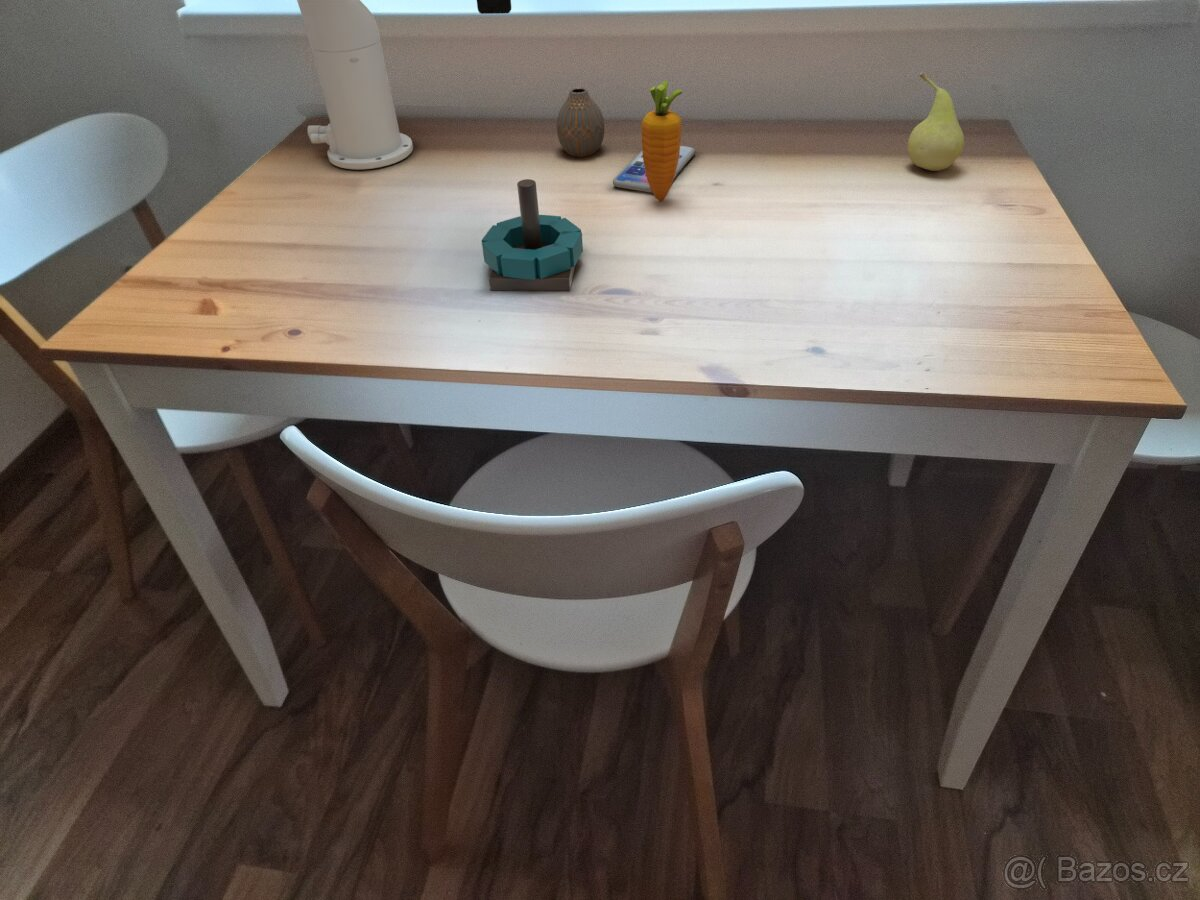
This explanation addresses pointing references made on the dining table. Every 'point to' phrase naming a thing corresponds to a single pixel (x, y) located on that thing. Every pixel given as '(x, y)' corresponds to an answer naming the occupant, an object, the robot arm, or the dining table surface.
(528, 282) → the stand
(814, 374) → the dining table surface
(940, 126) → the fruit
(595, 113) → the vase
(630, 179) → the smartphone
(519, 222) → the ring
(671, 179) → the carrot
